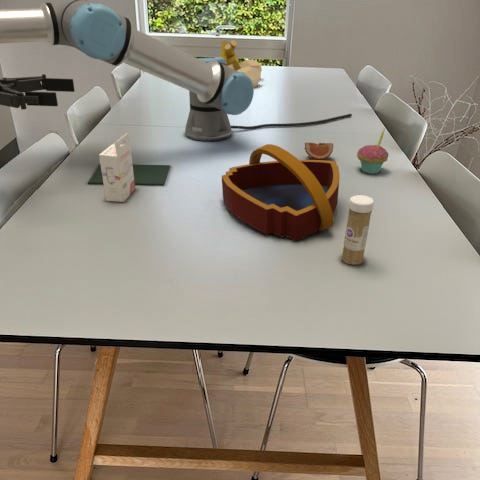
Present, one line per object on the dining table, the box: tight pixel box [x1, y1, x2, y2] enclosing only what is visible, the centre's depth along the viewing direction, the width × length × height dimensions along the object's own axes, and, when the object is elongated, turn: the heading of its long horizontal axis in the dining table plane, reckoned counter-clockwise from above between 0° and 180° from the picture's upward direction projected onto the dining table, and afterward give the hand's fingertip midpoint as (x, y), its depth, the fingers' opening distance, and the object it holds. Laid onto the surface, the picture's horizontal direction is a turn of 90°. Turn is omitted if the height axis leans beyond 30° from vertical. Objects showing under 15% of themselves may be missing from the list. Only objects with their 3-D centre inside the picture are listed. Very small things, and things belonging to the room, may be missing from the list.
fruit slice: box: [304, 142, 334, 160], centre depth 159 cm, size 8×7×5 cm
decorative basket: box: [221, 143, 340, 242], centre depth 127 cm, size 34×29×15 cm
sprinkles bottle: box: [341, 194, 375, 266], centre depth 107 cm, size 5×5×14 cm
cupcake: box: [356, 128, 389, 175], centre depth 149 cm, size 9×8×12 cm
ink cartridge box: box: [98, 132, 136, 203], centre depth 132 cm, size 9×5×15 cm, turn 168°
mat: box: [87, 163, 171, 186], centre depth 147 cm, size 20×14×1 cm
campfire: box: [197, 39, 263, 88], centre depth 236 cm, size 35×34×17 cm
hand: (65, 92), depth 122 cm, fingers open, 13 cm apart
